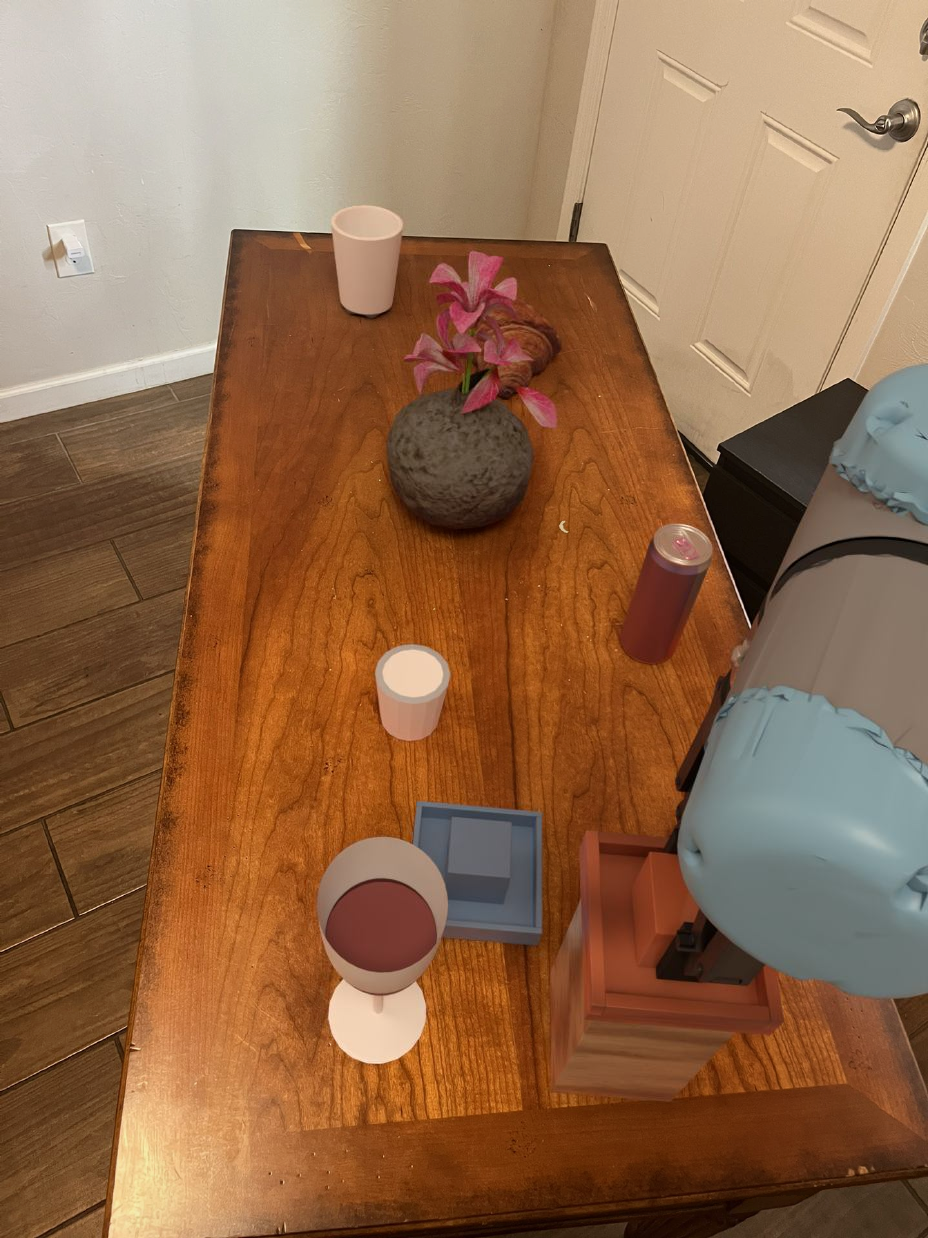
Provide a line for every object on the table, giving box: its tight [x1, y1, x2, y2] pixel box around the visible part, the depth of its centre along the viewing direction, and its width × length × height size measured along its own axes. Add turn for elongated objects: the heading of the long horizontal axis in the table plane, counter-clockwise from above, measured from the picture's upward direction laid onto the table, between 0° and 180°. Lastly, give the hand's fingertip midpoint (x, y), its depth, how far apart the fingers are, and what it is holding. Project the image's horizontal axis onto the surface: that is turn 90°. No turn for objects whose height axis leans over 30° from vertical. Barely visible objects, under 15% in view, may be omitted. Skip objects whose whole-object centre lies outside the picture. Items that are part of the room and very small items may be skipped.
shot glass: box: [374, 643, 451, 742], centre depth 88 cm, size 7×7×7 cm
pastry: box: [465, 298, 563, 400], centre depth 129 cm, size 17×15×8 cm
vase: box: [386, 250, 558, 530], centre depth 100 cm, size 17×17×30 cm
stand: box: [549, 829, 785, 1103], centre depth 65 cm, size 11×11×22 cm
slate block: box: [445, 817, 512, 904], centre depth 78 cm, size 5×5×5 cm
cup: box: [330, 204, 404, 320], centre depth 133 cm, size 10×10×13 cm
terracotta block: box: [631, 852, 699, 968], centre depth 56 cm, size 5×5×5 cm
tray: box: [412, 800, 543, 947], centre depth 80 cm, size 11×11×2 cm
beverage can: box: [619, 522, 714, 665], centre depth 94 cm, size 6×6×15 cm
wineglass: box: [316, 836, 448, 1065], centre depth 65 cm, size 8×9×20 cm
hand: (674, 927), depth 58 cm, fingers closed on terracotta block, 5 cm apart
